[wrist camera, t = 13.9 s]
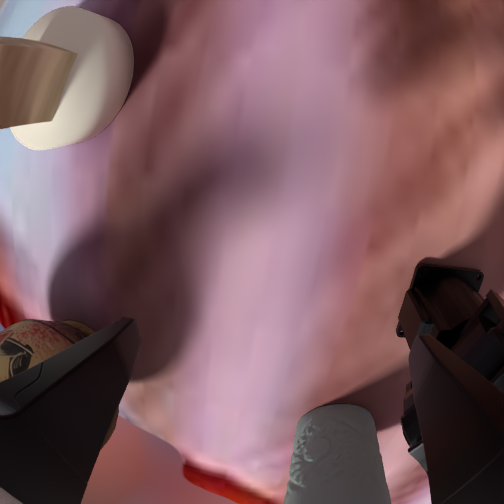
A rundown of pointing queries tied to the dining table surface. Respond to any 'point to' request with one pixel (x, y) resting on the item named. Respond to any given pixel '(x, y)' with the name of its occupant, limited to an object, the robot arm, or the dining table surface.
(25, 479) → the robot arm
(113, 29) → the cream plinth
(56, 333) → the ceramic jug
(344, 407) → the grey cup
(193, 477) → the dining table surface
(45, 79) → the maple block
